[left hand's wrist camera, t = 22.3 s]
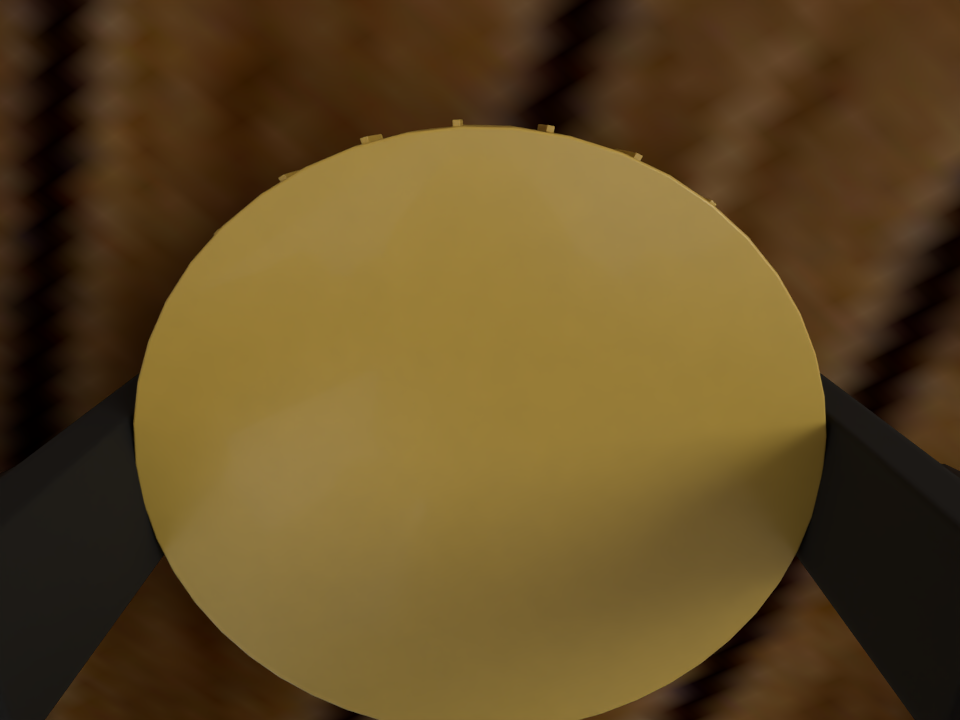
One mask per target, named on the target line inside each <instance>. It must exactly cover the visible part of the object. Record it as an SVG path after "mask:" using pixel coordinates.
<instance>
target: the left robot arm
mask: <svg viewBox="0 0 960 720" xmlns="http://www.w3.org/2000/svg"><path fill="white" fill-rule="evenodd" d="M139 375H140V373H139V374H138V375H136V376H135V377H134V378H132V379H131V380H130V381H128V382H127V383H126V384H124V385H123V386H122V387H120V388H119V389H118V390H116V391H115V392H114V393H112V394H111V395H110V396H108V397H107V398H106V399H104V400H103V401H102V402H100V403H99V404H98V405H96V406H95V407H94V408H92V409H91V410H90V411H88V412H87V413H86V414H84V415H83V416H82V417H80V418H79V419H78V420H76V421H75V422H74V423H72V424H71V425H70V426H69V427H67V428H66V429H65V430H63V431H62V432H61V433H59V434H58V435H57V436H55V437H54V438H53V439H51V440H50V441H49V442H47V443H46V444H45V445H43V446H42V447H41V448H39V449H38V450H37V451H35V452H34V453H33V454H31V455H30V456H29V457H27V458H26V459H25V460H23V461H22V462H21V463H19V464H18V465H17V466H15V467H13V468H11V469H9V470H7V471H5V472H3V473H1V474H0V720H45V719H46V717H47V716H48V715H49V713H50V712H51V710H52V709H53V708H54V706H55V705H56V703H57V702H58V701H59V699H60V698H61V696H62V695H63V694H64V692H65V691H66V690H67V688H68V687H69V685H70V684H71V683H72V681H73V680H74V678H75V677H76V676H77V674H78V673H79V672H80V670H81V669H82V667H83V666H84V665H85V663H86V662H87V660H88V659H89V658H90V656H91V655H92V654H93V652H94V651H95V649H96V648H97V647H98V645H99V644H100V642H101V641H102V640H103V638H104V637H105V636H106V634H107V633H108V631H109V630H110V629H111V627H112V626H113V624H114V623H115V622H116V620H117V619H118V617H119V616H120V615H121V613H122V612H123V611H124V609H125V608H126V606H127V605H128V604H129V602H130V601H131V599H132V598H133V597H134V595H135V594H136V593H137V591H138V590H139V588H140V587H141V586H142V584H143V583H144V581H145V580H146V579H147V577H148V576H149V575H150V573H151V572H152V570H153V569H154V568H155V566H156V565H157V563H158V562H159V561H160V559H161V558H162V557H163V555H164V552H163V550H162V549H161V547H160V545H159V543H158V541H157V539H156V536H155V533H154V531H153V528H152V525H151V522H150V520H149V517H148V514H147V511H146V508H145V504H144V500H143V495H142V491H141V486H140V482H139V477H138V473H137V468H136V464H135V446H134V427H133V422H134V412H135V402H136V392H137V383H138V379H139ZM820 377H821V382H822V386H823V391H824V396H825V416H826V447H825V457H824V465H823V470H822V475H821V480H820V484H819V488H818V493H817V497H816V501H815V505H814V510H813V514H812V518H811V520H810V522H809V525H808V527H807V530H806V532H805V535H804V537H803V539H802V542H801V544H800V547H799V549H798V551H797V553H796V556H797V557H798V558H799V560H800V561H801V563H802V564H803V565H804V567H805V568H806V570H807V571H808V572H809V574H810V575H811V576H812V578H813V579H814V581H815V582H816V583H817V585H818V586H819V588H820V589H821V590H822V592H823V593H824V595H825V596H826V597H827V599H828V600H829V601H830V603H831V604H832V606H833V607H834V608H835V610H836V611H837V613H838V614H839V615H840V617H841V618H842V619H843V621H844V622H845V624H846V625H847V626H848V628H849V629H850V631H851V632H852V633H853V635H854V636H855V637H856V639H857V640H858V642H859V643H860V644H861V646H862V647H863V649H864V650H865V651H866V653H867V654H868V656H869V657H870V658H871V660H872V661H873V662H874V664H875V665H876V667H877V668H878V669H879V671H880V672H881V674H882V675H883V676H884V678H885V679H886V680H887V682H888V683H889V685H890V686H891V687H892V689H893V690H894V692H895V693H896V694H897V696H898V697H899V698H900V700H901V701H902V703H903V704H904V705H905V707H906V708H907V710H908V711H909V712H910V714H911V715H912V717H913V718H914V719H915V720H960V471H958V470H956V469H954V468H952V467H950V466H948V465H946V464H940V463H939V462H938V461H936V460H935V459H934V458H932V457H931V456H930V455H928V454H927V453H926V452H924V451H923V450H922V449H920V448H919V447H918V446H916V445H915V444H914V443H912V442H911V441H910V440H908V439H907V438H906V437H904V436H903V435H902V434H900V433H899V432H898V431H896V430H895V429H894V428H892V427H891V426H890V425H888V424H887V423H886V422H884V421H883V420H882V419H880V418H879V417H878V416H876V415H875V414H874V413H872V412H871V411H870V410H868V409H867V408H866V407H864V406H863V405H862V404H860V403H859V402H858V401H856V400H855V399H854V398H852V397H851V396H850V395H849V394H847V393H846V392H845V391H843V390H842V389H841V388H839V387H838V386H837V385H835V384H834V383H833V382H831V381H830V380H829V379H827V378H826V377H825V376H823V375H822V374H821V373H820Z"/></svg>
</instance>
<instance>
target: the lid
mask: <svg viewBox="0 0 960 720" xmlns="http://www.w3.org/2000/svg"><path fill="white" fill-rule="evenodd" d="M452 124H453V126H450V127H441V128H433V129H424V130H417V131H412V132H407V133H403V134H399V135H395V136H391V137H388V138H384V139H383V137H382V134H379V135H372V136H366V137H363V138H360V140H361V143H362V144H361V145H357V146H354V147H351V148H349V149H347V150H344V151H342V152H340V153H337V154H335V155H332V156H330V157H328V158H325V159H323V160H321V161H318V162H316V163H314V164H311V165H309V166H306V167H304V168H303V169H301V170H298V171H294V172H291V173H287V174H284V175H282V176H281V177H279V178H278V179H279V180H280V183H278V184H276V185H275V186H273V187H271V188H270V189H268V190H267V191H265V192H263V193H262V194H260V195H259V196H258V197H257V198H255V199H254V200H253V201H252V202H251V203H249V204H248V205H247V206H246V207H245V208H243V209H242V210H241V211H240V212H239V213H237V214H236V215H235V216H234V217H233V218H231V219H230V220H229V221H228V222H227V223H225V224H224V225H223V226H222V227H221V228H220V229H218V230H217V231H216V232H215V233H214V236H213V237H212V238H211V239H210V241H209V242H208V243H207V244H206V245H205V246H204V247H203V249H202V250H201V251H200V252H199V253H198V254H197V255H196V256H195V258H194V259H193V260H192V261H191V262H190V264H189V265H188V267H187V269H186V270H185V272H184V273H183V275H182V276H181V278H180V279H179V281H178V283H177V284H176V286H175V287H174V289H173V290H172V292H171V293H170V295H169V297H168V298H167V300H166V302H165V304H164V306H163V309H162V311H161V313H160V315H159V318H158V320H157V322H156V325H155V327H154V329H153V331H152V334H151V336H150V338H149V340H148V344H147V348H146V352H145V356H144V359H143V363H142V367H141V371H140V375H139V379H138V383H137V392H136V402H135V412H134V422H133V427H134V446H135V464H136V468H137V473H138V477H139V482H140V486H141V491H142V495H143V500H144V504H145V508H146V511H147V514H148V517H149V520H150V522H151V525H152V528H153V531H154V533H155V536H156V539H157V541H158V543H159V545H160V547H161V549H162V550H163V552H164V554H165V556H166V558H167V560H168V562H169V564H170V566H171V568H172V570H173V571H174V573H175V575H176V576H177V577H178V579H179V580H180V582H181V583H182V585H183V586H184V587H185V589H186V590H187V592H188V593H189V595H190V596H191V597H192V599H193V600H194V602H195V603H196V604H197V605H198V606H199V608H200V609H201V610H202V611H203V612H204V613H205V614H206V615H207V616H208V618H209V619H210V620H211V621H212V622H213V623H214V624H215V625H216V626H217V628H218V629H219V630H220V631H221V632H222V633H223V634H225V635H226V636H227V637H228V638H229V639H230V640H231V641H233V642H234V643H235V644H236V645H237V646H238V647H239V648H241V649H242V650H243V651H244V652H245V653H246V654H247V655H249V656H250V657H251V658H253V659H254V660H256V661H257V662H258V663H260V664H261V665H263V666H264V667H266V668H267V669H269V670H270V671H271V672H273V673H274V674H276V675H277V676H279V677H280V678H282V679H284V680H286V681H287V682H289V683H291V684H293V685H295V686H297V687H298V688H300V689H302V690H304V691H306V692H307V693H309V694H311V695H313V696H316V697H318V698H320V699H323V700H325V701H327V702H330V703H332V704H334V705H337V706H339V707H342V708H344V709H346V710H349V711H353V712H356V713H359V714H362V715H366V716H369V717H372V718H375V719H379V720H580V719H584V718H587V717H591V716H595V715H598V714H602V713H604V712H607V711H610V710H612V709H615V708H617V707H620V706H623V705H625V704H628V703H630V702H633V701H636V700H638V699H640V698H642V697H644V696H646V695H648V694H650V693H652V692H654V691H656V690H658V689H660V688H662V687H664V686H666V685H668V684H670V683H671V682H673V681H674V680H676V679H677V678H679V677H680V676H682V675H684V674H685V673H687V672H688V671H690V670H691V669H693V668H694V667H696V666H697V665H699V664H701V663H702V662H703V661H704V660H706V659H707V658H708V657H709V656H711V655H712V654H713V653H714V652H715V651H717V650H718V649H719V648H720V647H722V646H723V645H724V644H725V643H727V642H728V641H729V640H730V639H731V638H732V637H733V636H734V635H735V634H736V633H737V632H738V631H739V630H740V629H741V628H742V627H743V626H744V625H745V624H746V623H747V622H748V621H749V620H750V619H751V618H752V617H753V616H754V615H755V614H756V612H757V611H758V610H759V609H760V607H761V606H762V605H763V603H764V602H765V601H766V599H767V598H768V597H769V595H770V594H771V593H772V592H773V590H774V589H775V588H776V586H777V585H778V584H779V582H780V580H781V579H782V577H783V575H784V574H785V572H786V570H787V568H788V567H789V565H790V563H791V561H792V560H793V558H794V556H795V555H796V553H797V551H798V549H799V547H800V544H801V542H802V539H803V537H804V535H805V532H806V530H807V527H808V525H809V522H810V520H811V518H812V514H813V510H814V505H815V501H816V497H817V493H818V488H819V484H820V480H821V475H822V470H823V465H824V457H825V447H826V416H825V396H824V391H823V386H822V382H821V377H820V372H819V367H818V362H817V358H816V353H815V351H814V348H813V345H812V343H811V340H810V337H809V335H808V332H807V330H806V327H805V324H804V322H803V319H802V316H801V314H800V312H799V310H798V308H797V307H796V305H795V303H794V301H793V300H792V298H791V296H790V294H789V293H788V291H787V289H786V287H785V286H784V284H783V282H782V280H781V278H780V277H779V275H778V273H777V272H776V271H775V270H774V268H773V267H772V266H771V265H770V263H769V262H768V261H767V260H766V258H765V257H764V256H763V255H762V253H761V252H760V251H759V250H758V248H757V247H756V246H755V245H754V243H753V242H752V241H751V240H750V238H749V237H748V236H747V235H746V234H745V233H743V232H742V231H741V230H740V229H739V228H738V227H737V226H736V225H735V224H734V223H733V222H732V221H730V220H729V219H728V218H727V217H726V216H725V215H724V214H723V213H722V212H721V211H720V210H718V209H717V208H716V207H715V206H716V204H715V203H714V202H713V201H712V200H709V199H707V198H704V197H701V196H700V195H699V194H697V193H696V192H694V191H693V190H691V189H690V188H688V187H687V186H685V185H684V184H682V183H681V182H679V181H678V180H676V179H675V178H673V177H672V176H670V175H668V174H666V173H664V172H662V171H660V170H658V169H656V168H654V167H652V166H650V165H648V164H646V163H643V162H641V161H640V160H641V158H642V155H640V154H638V153H634V152H630V151H625V150H621V149H616V150H613V149H610V148H607V147H604V146H600V145H597V144H594V143H591V142H588V141H585V140H581V139H578V138H575V137H572V136H567V135H562V134H557V133H554V128H555V127H554V126H550V125H542V124H539V125H538V129H537V130H533V129H527V128H521V127H515V126H497V125H463V120H462V119H461V120H452Z"/></svg>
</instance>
